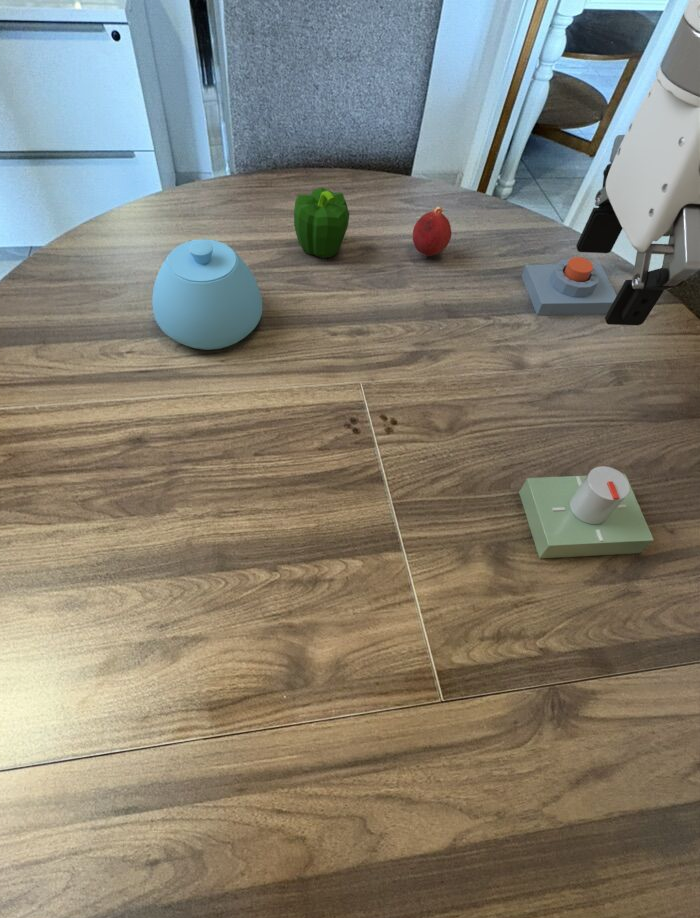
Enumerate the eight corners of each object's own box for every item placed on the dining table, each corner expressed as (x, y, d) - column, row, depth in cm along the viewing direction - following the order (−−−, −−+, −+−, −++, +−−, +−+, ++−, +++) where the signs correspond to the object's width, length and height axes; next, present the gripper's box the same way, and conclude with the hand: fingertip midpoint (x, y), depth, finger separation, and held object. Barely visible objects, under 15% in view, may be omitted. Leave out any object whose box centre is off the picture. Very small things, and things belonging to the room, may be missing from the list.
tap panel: (614, 488, 75) (626, 472, 72) (640, 553, 70) (654, 539, 67) (518, 492, 74) (527, 476, 71) (539, 558, 69) (549, 545, 66)
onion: (427, 271, 95) (438, 224, 88) (401, 253, 97) (410, 205, 91) (452, 257, 97) (465, 210, 91) (426, 239, 100) (436, 192, 93)
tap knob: (564, 492, 70) (583, 465, 66) (601, 491, 70) (622, 463, 66) (576, 525, 68) (597, 499, 63) (614, 523, 68) (637, 497, 64)
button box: (594, 275, 97) (605, 253, 93) (613, 314, 92) (626, 292, 89) (521, 276, 96) (529, 254, 92) (536, 315, 91) (546, 293, 88)
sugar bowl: (282, 331, 86) (282, 259, 77) (187, 372, 81) (174, 300, 72) (229, 273, 93) (223, 199, 83) (137, 307, 88) (119, 233, 78)
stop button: (584, 267, 92) (588, 256, 90) (591, 282, 90) (596, 272, 88) (560, 267, 92) (565, 257, 90) (568, 282, 90) (572, 272, 88)
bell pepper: (291, 233, 99) (291, 171, 90) (341, 232, 100) (347, 170, 91) (295, 266, 94) (297, 204, 86) (348, 264, 95) (355, 203, 87)
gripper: (845, 133, 35) (680, 355, 50) (731, 10, 45) (620, 228, 59) (719, 127, 35) (590, 353, 49) (631, 4, 44) (543, 225, 59)
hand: (606, 285), depth 54 cm, fingers open, 9 cm apart
